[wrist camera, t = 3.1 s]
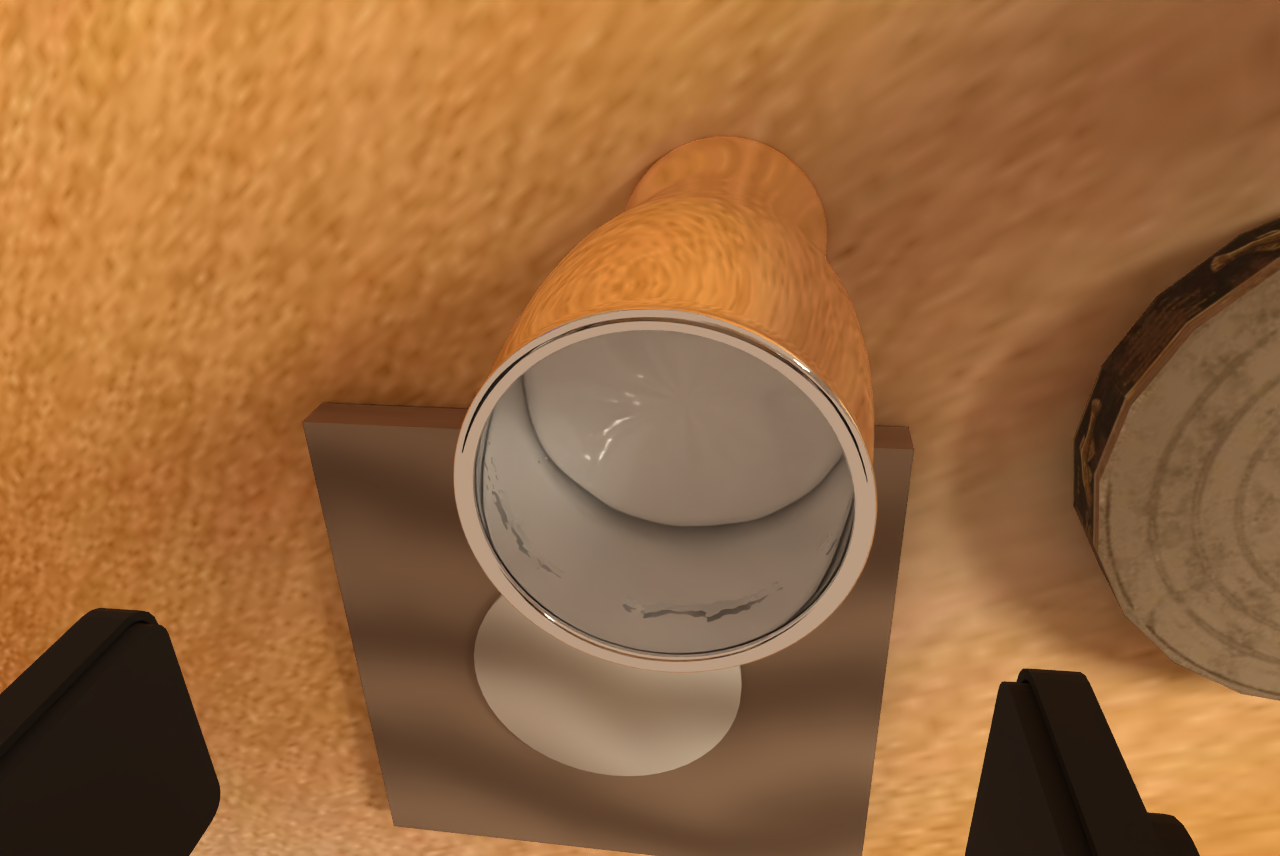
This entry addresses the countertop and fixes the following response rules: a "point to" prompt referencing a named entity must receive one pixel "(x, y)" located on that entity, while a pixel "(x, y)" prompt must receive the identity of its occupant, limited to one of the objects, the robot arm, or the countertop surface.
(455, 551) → the coaster board
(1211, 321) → the brown flat disc
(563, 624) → the shiny metal tumbler
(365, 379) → the countertop surface
